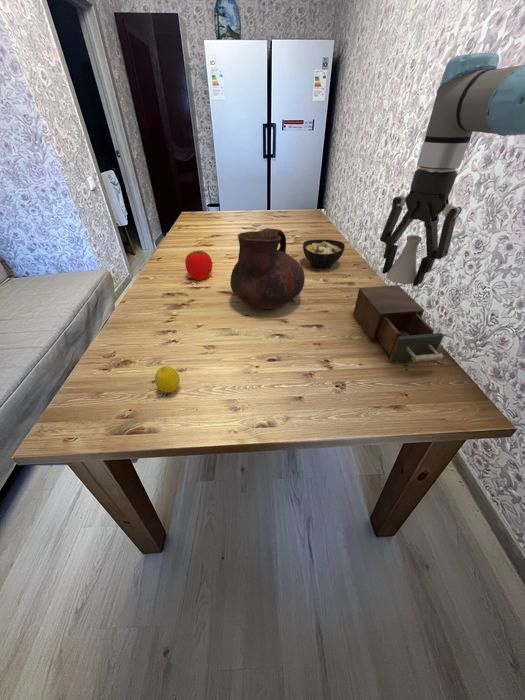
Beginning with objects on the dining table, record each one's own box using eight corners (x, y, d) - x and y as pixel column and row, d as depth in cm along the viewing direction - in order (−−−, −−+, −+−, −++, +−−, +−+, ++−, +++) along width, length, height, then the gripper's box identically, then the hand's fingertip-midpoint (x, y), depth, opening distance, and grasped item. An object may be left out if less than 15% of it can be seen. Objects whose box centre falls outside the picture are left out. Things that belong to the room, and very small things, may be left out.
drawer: (443, 372, 72) (457, 348, 67) (400, 376, 71) (410, 352, 66) (406, 329, 86) (415, 306, 81) (369, 332, 85) (376, 310, 80)
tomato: (183, 281, 114) (177, 255, 107) (194, 270, 122) (189, 245, 115) (207, 284, 112) (203, 257, 105) (217, 272, 120) (213, 247, 113)
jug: (315, 296, 104) (323, 224, 88) (276, 329, 88) (278, 250, 72) (260, 278, 115) (258, 212, 99) (217, 305, 100) (208, 232, 84)
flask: (382, 271, 73) (394, 231, 67) (412, 272, 72) (426, 232, 66) (388, 284, 68) (401, 242, 61) (420, 286, 67) (436, 243, 60)
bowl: (303, 256, 132) (305, 234, 125) (341, 258, 129) (344, 236, 123) (299, 272, 119) (301, 248, 113) (341, 275, 116) (345, 251, 110)
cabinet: (413, 338, 84) (424, 310, 78) (371, 342, 83) (380, 313, 77) (389, 311, 95) (398, 284, 89) (353, 314, 94) (359, 287, 88)
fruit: (173, 378, 73) (166, 355, 68) (187, 389, 70) (180, 365, 65) (154, 391, 70) (145, 368, 64) (168, 402, 67) (160, 379, 62)
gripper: (504, 173, 51) (450, 288, 65) (399, 161, 63) (374, 260, 78) (486, 178, 47) (434, 299, 62) (379, 165, 60) (357, 268, 74)
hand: (401, 277), depth 70 cm, fingers closed on flask, 8 cm apart
